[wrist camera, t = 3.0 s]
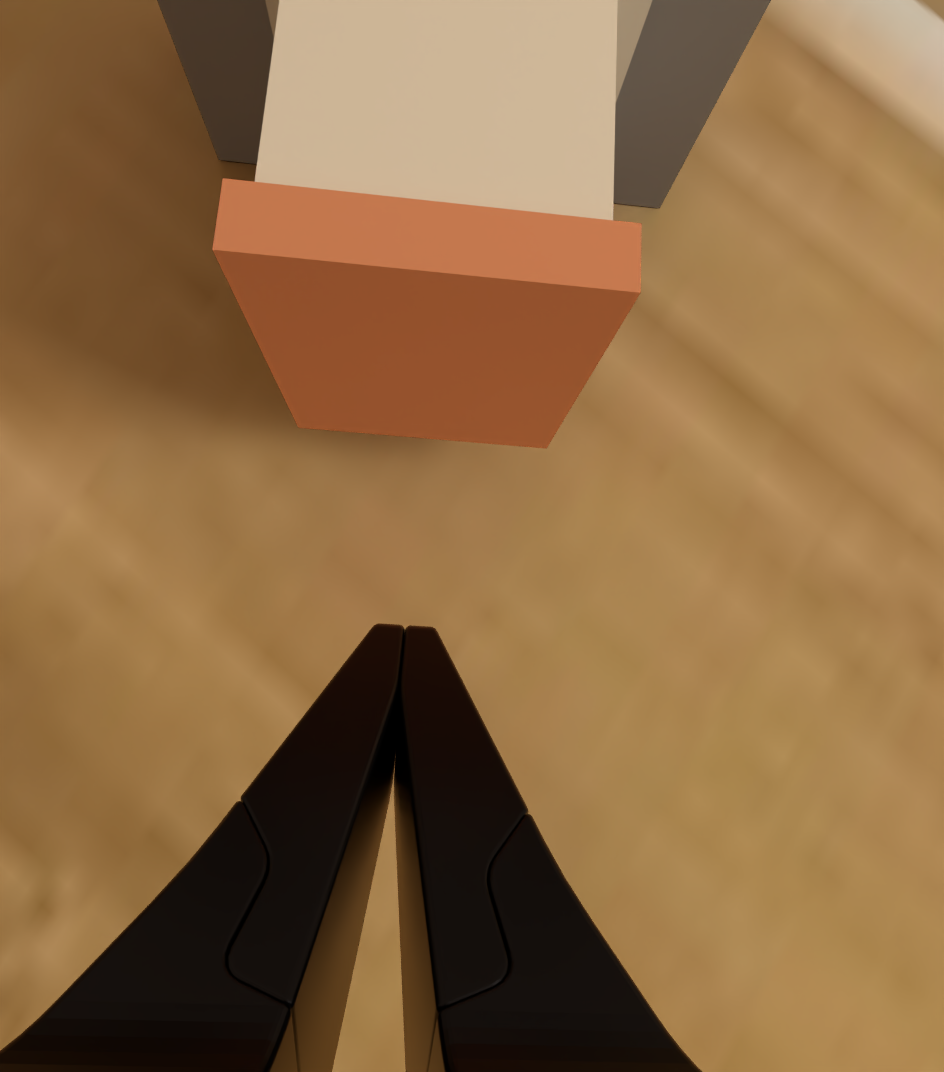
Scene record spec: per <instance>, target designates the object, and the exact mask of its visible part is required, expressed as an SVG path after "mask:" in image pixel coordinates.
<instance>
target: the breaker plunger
mask: <svg viewBox="0 0 944 1072" xmlns="http://www.w3.org/2000/svg"><path fill="white" fill-rule="evenodd" d="M617 9H618V0H279V7H278V14H277V21H276V29H275V36H274V43H273V51H272V58H271V65H270V73H269V80H268V87H267V95H266V102H265V109H264V117H263V124H262V131H261V139H260V146H259V153H258V160H257V168H256V175H255V182H253V181H243V180H234V179H225V178H223V180H222V187H221V194H220V201H219V208H218V215H217V221H216V228H215V235H214V242H213V249H212V250H213V252H214V254H215V256H216V258H217V260H218V262H219V264H220V266H221V269H222V271H223V273H224V275H225V277H226V279H227V281H228V283H229V285H230V287H231V289H232V291H233V293H234V295H235V298H236V300H237V302H238V304H239V306H240V308H241V310H242V312H243V314H244V316H245V318H246V320H247V322H248V324H249V326H250V329H251V331H252V333H253V335H254V337H255V339H256V341H257V343H258V345H259V347H260V349H261V351H262V353H263V355H264V358H265V360H266V362H267V364H268V366H269V368H270V370H271V372H272V374H273V376H274V378H275V380H276V382H277V384H278V387H279V389H280V391H281V393H282V395H283V397H284V399H285V401H286V403H287V405H288V407H289V409H290V411H291V413H292V416H293V418H294V420H295V422H296V424H297V426H298V428H309V429H321V430H332V431H344V432H356V433H368V434H380V435H392V436H404V437H416V438H428V439H440V440H452V441H464V442H476V443H488V444H500V445H512V446H524V447H536V448H547V447H548V445H549V443H550V442H551V440H552V438H553V437H554V435H555V433H556V432H557V430H558V429H559V427H560V425H561V424H562V422H563V420H564V419H565V417H566V415H567V414H568V412H569V410H570V409H571V407H572V405H573V404H574V402H575V400H576V399H577V397H578V395H579V394H580V392H581V391H582V389H583V387H584V386H585V384H586V382H587V381H588V379H589V377H590V376H591V374H592V372H593V371H594V369H595V367H596V366H597V364H598V362H599V361H600V359H601V357H602V356H603V354H604V352H605V351H606V349H607V348H608V346H609V344H610V343H611V341H612V339H613V338H614V336H615V334H616V333H617V331H618V329H619V328H620V326H621V324H622V323H623V321H624V319H625V318H626V316H627V314H628V313H629V311H630V310H631V308H632V306H633V305H634V303H635V301H636V300H637V298H638V296H639V295H640V293H641V224H642V223H632V222H623V221H614V220H613V197H614V150H615V103H616V56H617Z"/></svg>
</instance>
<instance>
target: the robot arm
mask: <svg viewBox="0 0 944 1072" xmlns="http://www.w3.org/2000/svg"><path fill="white" fill-rule="evenodd" d="M395 754H396V755H395ZM394 766H395V773H394ZM393 774H394V807H395V831H396V854H397V878H398V901H399V925H400V948H401V972H402V995H403V1018H404V1042H405V1065H406V1072H702V1071H701V1070H700V1069H699V1068H698V1067H697V1066H696V1065H695V1064H694V1063H693V1062H692V1061H691V1060H690V1058H689V1057H688V1056H687V1055H686V1054H685V1053H684V1052H683V1051H682V1049H681V1048H680V1047H679V1046H678V1044H677V1043H676V1042H675V1041H674V1039H673V1038H672V1037H671V1035H670V1034H669V1033H668V1031H667V1030H666V1029H665V1027H664V1026H663V1024H662V1023H661V1022H660V1020H659V1019H658V1017H657V1016H656V1014H655V1013H654V1011H653V1010H652V1008H651V1007H650V1005H649V1004H648V1003H647V1001H646V1000H645V998H644V997H643V995H642V994H641V992H640V991H639V989H638V988H637V986H636V985H635V983H634V982H633V980H632V979H631V977H630V976H629V974H628V973H627V971H626V970H625V968H624V967H623V965H622V964H621V962H620V961H619V959H618V958H617V956H616V955H615V954H614V952H613V951H612V949H611V948H610V946H609V945H608V943H607V942H606V940H605V939H604V937H603V936H602V934H601V933H600V931H599V930H598V928H597V927H596V925H595V924H594V922H593V921H592V919H591V918H590V916H589V915H588V913H587V912H586V910H585V908H584V907H583V905H582V904H581V902H580V901H579V899H578V897H577V896H576V894H575V893H574V891H573V890H572V888H571V886H570V885H569V883H568V882H567V880H566V879H565V877H564V875H563V873H562V872H561V870H560V868H559V866H558V864H557V863H556V861H555V859H554V857H553V855H552V854H551V852H550V850H549V848H548V846H547V845H546V843H545V841H544V839H543V837H542V835H541V833H540V831H539V829H538V827H537V825H536V823H535V821H534V819H533V817H532V816H531V815H530V814H528V808H527V806H526V804H525V802H524V800H523V798H522V797H521V795H520V793H519V791H518V789H517V787H516V785H515V783H514V781H513V779H512V777H511V775H510V773H509V771H508V769H507V767H506V765H505V763H504V761H503V759H502V757H501V755H500V753H499V752H498V750H497V748H496V746H495V744H494V742H493V740H492V738H491V736H490V734H489V732H488V730H487V728H486V726H485V724H484V722H483V720H482V718H481V716H480V714H479V712H478V710H477V708H476V707H475V705H474V703H473V701H472V699H471V697H470V695H469V693H468V691H467V689H466V687H465V685H464V683H463V681H462V679H461V677H460V675H459V673H458V671H457V669H456V667H455V665H454V663H453V662H452V660H451V658H450V656H449V654H448V652H447V650H446V648H445V646H444V644H443V642H442V640H441V638H440V636H439V634H438V632H437V631H436V629H435V628H433V627H425V626H408V627H407V628H406V629H404V627H403V626H402V625H394V624H376V625H374V626H373V627H372V628H371V630H370V631H369V632H368V634H367V635H366V636H365V637H364V639H363V640H362V641H361V643H360V644H359V645H358V646H357V648H356V649H355V650H354V652H353V653H352V654H351V655H350V657H349V658H348V659H347V661H346V662H345V663H344V664H343V666H342V667H341V668H340V670H339V671H338V672H337V674H336V675H335V676H334V677H333V679H332V680H331V681H330V683H329V684H328V685H327V686H326V688H325V689H324V690H323V692H322V693H321V694H320V695H319V697H318V698H317V699H316V701H315V702H314V703H313V704H312V706H311V707H310V708H309V710H308V711H307V712H306V713H305V715H304V716H303V717H302V719H301V720H300V721H299V723H298V724H297V725H296V726H295V728H294V729H293V730H292V732H291V733H290V734H289V735H288V737H287V738H286V739H285V741H284V742H283V743H282V744H281V746H280V747H279V748H278V750H277V751H276V752H275V753H274V755H273V756H272V757H271V759H270V760H269V761H268V762H267V764H266V765H265V766H264V768H263V769H262V770H261V772H260V773H259V774H258V775H257V777H256V778H255V779H254V781H253V782H252V783H251V784H250V786H249V787H248V788H247V790H246V791H245V792H244V793H243V795H242V796H241V801H238V802H236V803H235V805H234V806H233V807H232V808H231V810H230V811H229V812H228V814H227V815H226V816H225V818H224V819H223V820H222V821H221V823H220V824H219V825H218V827H217V828H216V829H215V830H214V831H213V833H212V834H211V835H210V836H209V837H208V839H207V840H206V841H205V842H204V844H203V845H202V846H201V847H200V848H199V850H198V851H197V852H196V853H195V854H194V856H193V857H192V858H191V859H190V860H189V862H188V863H187V864H186V865H185V866H184V867H183V868H182V869H181V870H180V872H179V873H178V874H177V875H176V876H175V877H174V878H173V879H172V880H171V881H170V882H169V883H168V885H167V886H166V887H165V888H164V889H163V890H162V891H161V892H160V893H159V894H158V895H157V897H156V898H155V899H154V900H153V901H152V902H151V903H150V904H149V905H148V906H147V907H146V908H145V909H144V910H143V911H142V912H141V913H140V914H139V915H138V916H137V917H136V919H135V920H134V921H133V922H132V923H131V924H130V925H129V926H128V927H127V928H126V929H125V930H124V931H123V932H122V933H121V934H120V935H119V936H118V937H117V938H116V939H115V940H114V941H113V942H112V943H111V944H110V945H109V947H108V948H107V949H106V950H105V951H104V952H103V953H102V954H101V955H100V956H99V957H98V958H97V959H96V960H95V961H94V962H93V963H92V964H91V965H90V966H89V967H88V968H87V969H86V970H85V971H84V972H83V973H82V975H81V976H80V977H79V978H78V979H77V980H76V981H75V982H74V983H73V984H72V985H71V986H70V987H69V988H68V989H67V990H66V991H65V992H64V993H63V994H62V995H61V996H60V997H59V998H58V999H57V1000H56V1001H55V1002H54V1003H53V1004H52V1005H51V1006H50V1007H49V1008H48V1009H47V1010H46V1011H45V1012H44V1013H43V1014H42V1015H41V1016H40V1017H39V1018H38V1019H37V1020H36V1021H35V1022H34V1023H33V1024H32V1025H31V1026H29V1027H28V1028H27V1029H26V1030H25V1031H24V1032H23V1033H22V1034H21V1035H19V1036H18V1037H17V1038H16V1039H14V1040H13V1041H12V1042H11V1043H9V1044H8V1045H7V1046H6V1047H4V1048H3V1049H2V1050H1V1051H0V1072H332V1069H333V1064H334V1059H335V1054H336V1050H337V1045H338V1040H339V1036H340V1031H341V1026H342V1021H343V1017H344V1012H345V1007H346V1002H347V998H348V993H349V988H350V984H351V979H352V974H353V969H354V965H355V960H356V955H357V951H358V946H359V941H360V936H361V932H362V927H363V922H364V918H365V913H366V908H367V903H368V899H369V894H370V889H371V884H372V880H373V875H374V870H375V866H376V861H377V856H378V851H379V847H380V842H381V837H382V833H383V828H384V823H385V818H386V814H387V809H388V804H389V799H390V794H391V788H392V783H393Z"/></svg>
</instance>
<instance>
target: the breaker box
mask: <svg viewBox="0 0 944 1072" xmlns="http://www.w3.org/2000/svg"><path fill="white" fill-rule="evenodd" d="M157 1H158V3H159V6H160V9H161V11H162V14H163V16H164V19H165V21H166V24H167V27H168V29H169V32H170V34H171V37H172V40H173V42H174V45H175V47H176V50H177V53H178V55H179V58H180V60H181V63H182V66H183V68H184V71H185V73H186V76H187V79H188V81H189V84H190V86H191V89H192V92H193V94H194V97H195V99H196V102H197V105H198V107H199V110H200V112H201V115H202V118H203V120H204V123H205V125H206V128H207V131H208V133H209V136H210V138H211V141H212V144H213V146H214V149H215V151H216V154H217V157H218V159H219V160H225V161H235V162H244V163H253V164H257V160H258V153H259V146H260V139H261V131H262V124H263V117H264V109H265V102H266V95H267V87H268V80H269V73H270V65H271V58H272V51H273V43H274V36H275V29H276V21H277V14H278V7H279V0H157ZM770 1H771V0H618V9H617V56H616V103H615V150H614V197H613V203H617V204H626V205H635V206H645V207H654V208H660V207H661V205H662V203H663V201H664V199H665V197H666V195H667V194H668V192H669V190H670V188H671V186H672V184H673V182H674V180H675V179H676V177H677V175H678V173H679V171H680V169H681V167H682V166H683V164H684V162H685V160H686V158H687V156H688V154H689V152H690V151H691V149H692V147H693V145H694V143H695V141H696V139H697V137H698V136H699V134H700V132H701V130H702V128H703V126H704V124H705V123H706V121H707V119H708V117H709V115H710V113H711V111H712V109H713V108H714V106H715V104H716V102H717V100H718V98H719V96H720V94H721V93H722V91H723V89H724V87H725V85H726V83H727V81H728V80H729V78H730V76H731V74H732V72H733V70H734V68H735V66H736V65H737V63H738V61H739V59H740V57H741V55H742V53H743V51H744V50H745V48H746V46H747V44H748V42H749V40H750V38H751V37H752V35H753V33H754V31H755V29H756V27H757V25H758V23H759V22H760V20H761V18H762V16H763V14H764V12H765V10H766V8H767V7H768V5H769V3H770Z"/></svg>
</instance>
